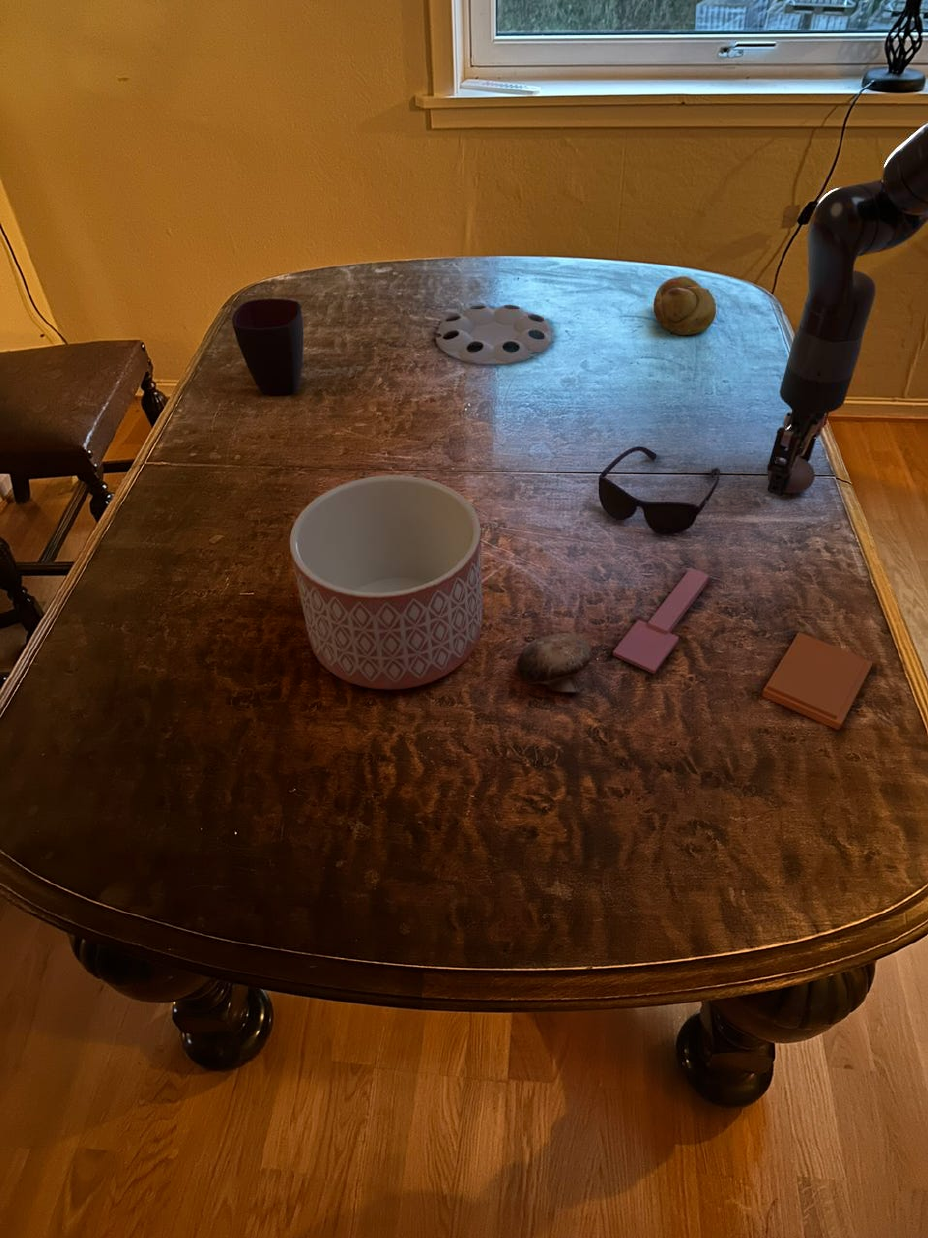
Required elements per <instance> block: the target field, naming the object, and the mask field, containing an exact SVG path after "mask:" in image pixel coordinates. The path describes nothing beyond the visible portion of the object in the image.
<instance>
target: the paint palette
mask: <svg viewBox="0 0 928 1238" xmlns="http://www.w3.org/2000/svg"><path fill="white" fill-rule="evenodd" d="M529 333H536V334H539V336H540V337H543V338H542V339H536V338H533V337H531V336H530V335H529ZM436 334H437V335H440V336H439V337H436V338H435V341H436V345H437V346H438V348H439V349H440V350H441V351H442V352H444V353H445V354H446V355H448V356H450V357H452V358H453V359H456V360H459V361H461V362H465V363H470V364H474V365H486V366H487V365H488V366H489V365H490V366H498V365H510V364H516V363H520V362H524V361H527V360H529V359H532V354H534V353H536V354H537V353H538V354H542V353H543V352H544V351H546V350H547V349H548V348H549V347H550V345H551V344H552V342H553V331H552V328H551V326H550V324H549V322H548V321H547V319H545V318H544V317H543V316H540V315H538V314H534V313H529V312H526V311H525V310H524V309H523V308H522V307H520V306H518V305H514V304H505V305H502V306H499V307H496V308H495V307H492V308H491V307H488V306H487V305H482V304H478V305H472V306H470V307H468V308H467V309H465V310H464V312H461V313H459V314H454V315H450V316H448V317H446V318H444V319H442V321H441V323H439V326H438V328H437V331H436ZM451 334H458V335H457V336H455V337H453V338H450V339H445V338H447V337H448V336H449V335H451ZM516 345H518V347H519V349H518V350H517V351H514V352H509V351H506V350H505V349H504V348H503V347H508V346H511V347H514V346H516ZM469 346H473V347H482V348H481V349H480V350H479V351H476V352H470V351H468V347H469Z"/></svg>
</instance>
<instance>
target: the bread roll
mask: <svg viewBox="0 0 928 1238" xmlns="http://www.w3.org/2000/svg"><path fill="white" fill-rule="evenodd" d="M653 313H654V315H655V318H656V320H657V321H658V323H659V325H660V326H661V327H662V328H664V329H665V330H666V331H668V332H670V333H672V334H675V335H680V336H686V335H688V336H689V335H696V334H700V333H702V332H704V331H706V330H707V329H709V328H710V327H711V326H712V324H713V323H714V321H715V318H716V315H717V304H716V299H715V298H714V296H713V294H712V293H711V291H710V290H709V289H708V288H704V287H702V286H701V284H700V283H699V282H697V281H696V280H695V279H693V278H691V277H690V276H685V275H680V276H676V277H672V278H668V279H667V280H665V281H664V282H663V283H662V284H661V285H659V287H658V289H657V291H656V293H655V295H654V299H653Z"/></svg>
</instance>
